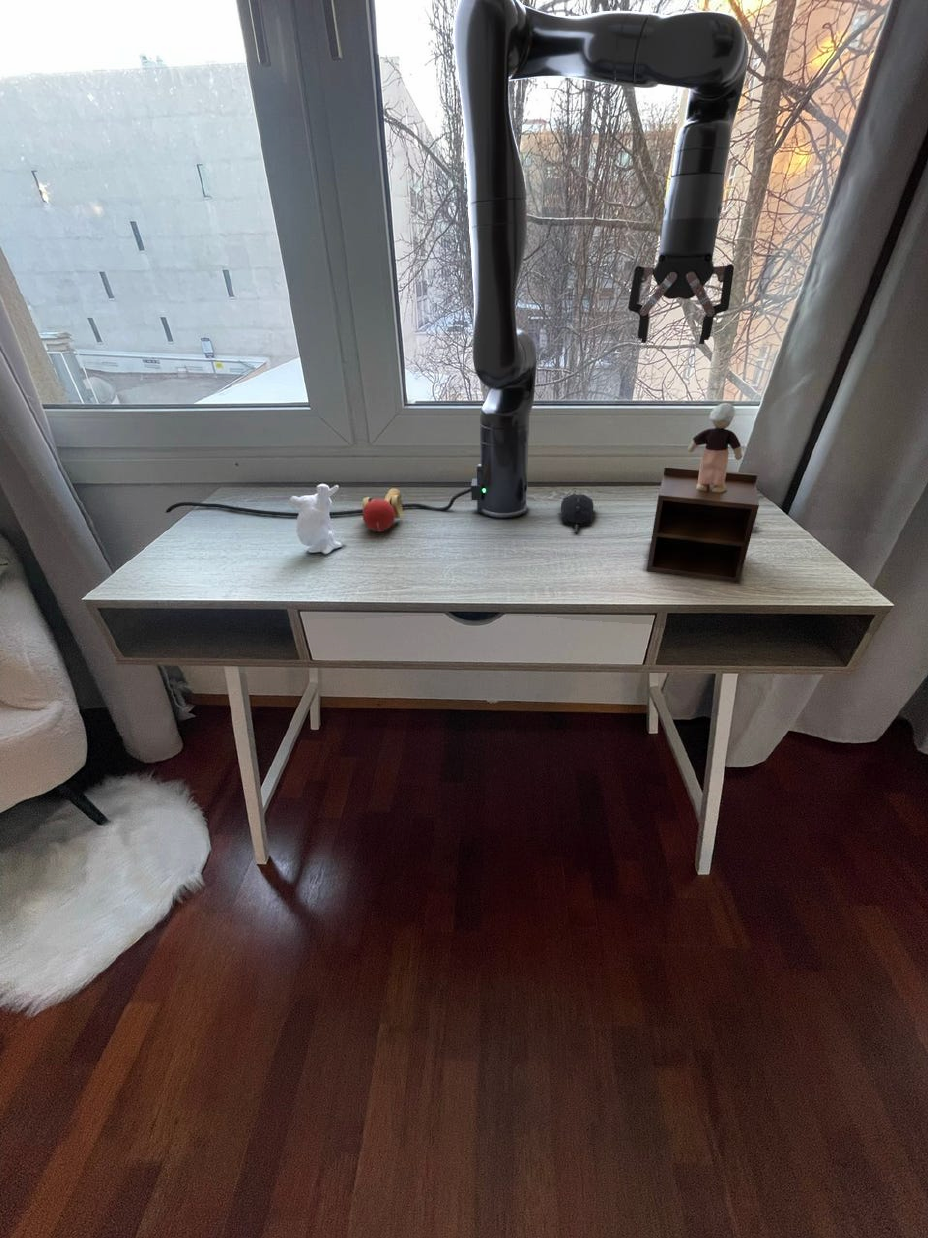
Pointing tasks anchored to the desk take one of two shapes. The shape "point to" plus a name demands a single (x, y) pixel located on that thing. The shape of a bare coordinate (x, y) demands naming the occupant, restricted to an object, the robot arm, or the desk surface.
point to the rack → (703, 525)
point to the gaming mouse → (577, 510)
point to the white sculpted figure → (316, 520)
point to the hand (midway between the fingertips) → (672, 342)
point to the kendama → (382, 510)
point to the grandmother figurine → (716, 449)
